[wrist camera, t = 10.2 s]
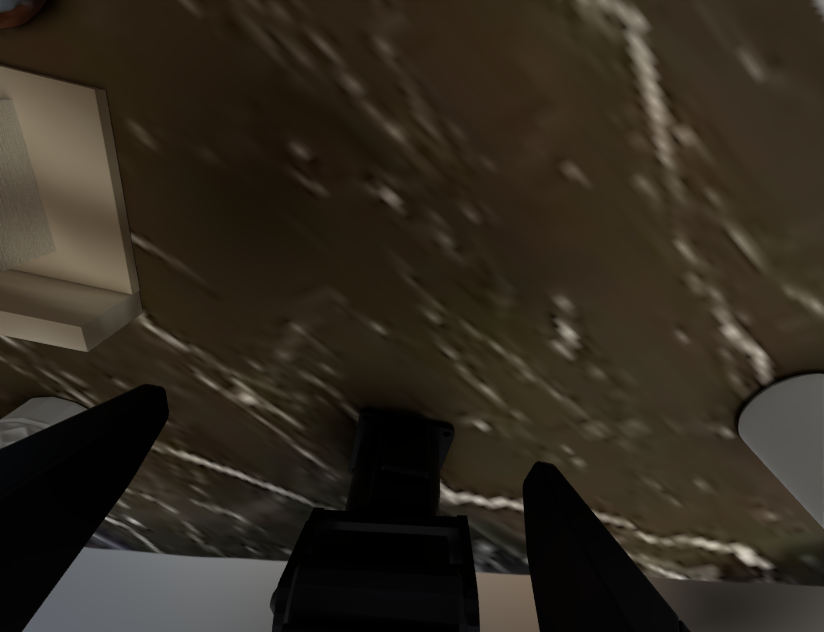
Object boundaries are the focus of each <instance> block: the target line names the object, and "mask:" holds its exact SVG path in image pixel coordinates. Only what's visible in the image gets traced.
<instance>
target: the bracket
mask: <svg viewBox="0 0 824 632" xmlns="http://www.w3.org/2000/svg"><path fill="white" fill-rule="evenodd" d="M54 251H56V247H55V244H54V240H53V237H52V233H51V230H50V226H49V223H48V219H47V216H46V212H45V209H44V205H43V202H42V199H41V195H40V192H39V188H38V185H37V181H36V178H35V174H34V171H33V167H32V164H31V160H30V157H29V154H28V150H27V147H26V143H25V140H24V136H23V133H22V129H21V126H20V122H19V119H18V115H17V112H16V109H15V105H14V102H13V100H11V99H7V98H2V97H0V272H2V271H4V270H7V269H10V268H12V267H15V266H17V265H20V264H23V263H25V262H28V261H30V260H33V259H36V258H38V257H41V256H43V255H46V254H49V253H51V252H54Z"/></svg>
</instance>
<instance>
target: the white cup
mask: <svg viewBox="0 0 824 632" xmlns="http://www.w3.org/2000/svg"><path fill="white" fill-rule="evenodd" d="M85 410H87V409H86V408H85V407H83V406H81V405H79V404H77V403H75V402H72V401H68V400H64V399H60V398H56V397H39V398H32V399H30V400H29V401H27V402H26V403H24V404H23V405H21V406H20V407H18V408H17V409H15V410H14V411H12V412H11V413H10V414H8V415H7V416H5V417H4V418H2V419H0V449H1V448H3V447H5V446H8V445H10V444H12V443H14V442H16V441H19V440H21V439H23V438H25V437H28V436H30V435H32V434H34V433H36V432H39V431H41V430H43V429H45V428H47V427H50V426H52V425H54V424H56V423H58V422H61V421H63V420H65V419H67V418H69V417H72V416H74V415H76V414H78V413H80V412H83V411H85Z"/></svg>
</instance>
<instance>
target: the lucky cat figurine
mask: <svg viewBox="0 0 824 632" xmlns="http://www.w3.org/2000/svg"><path fill="white" fill-rule="evenodd" d="M45 2H46V0H0V29H6V28H12V27H16V26H19V25H22V24H24V23H26V22H28V21H29V20H30V19H31V18H32V17H33V16H35V15H36V14H37V13H38V11H39V10H40V9H41V8H42V7H43V5H44V4H45Z"/></svg>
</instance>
